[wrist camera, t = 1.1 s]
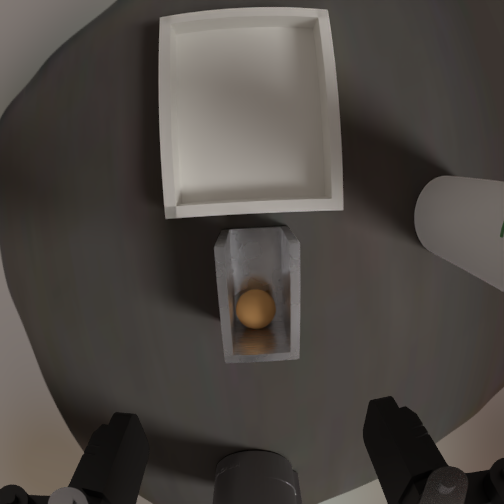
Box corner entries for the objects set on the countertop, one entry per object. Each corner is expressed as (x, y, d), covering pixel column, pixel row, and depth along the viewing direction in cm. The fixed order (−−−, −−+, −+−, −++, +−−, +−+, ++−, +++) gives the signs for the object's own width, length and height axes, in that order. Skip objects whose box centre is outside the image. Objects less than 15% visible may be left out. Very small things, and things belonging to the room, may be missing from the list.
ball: (285, 299, 25) (282, 320, 22) (259, 321, 26) (254, 343, 23) (256, 275, 24) (250, 293, 21) (232, 299, 25) (224, 318, 23)
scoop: (288, 319, 26) (299, 358, 20) (229, 322, 26) (225, 363, 20) (287, 225, 24) (299, 243, 18) (222, 228, 24) (213, 247, 18)
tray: (332, 205, 24) (343, 210, 21) (175, 213, 24) (165, 218, 21) (319, 25, 20) (327, 9, 17) (169, 32, 20) (160, 17, 17)
